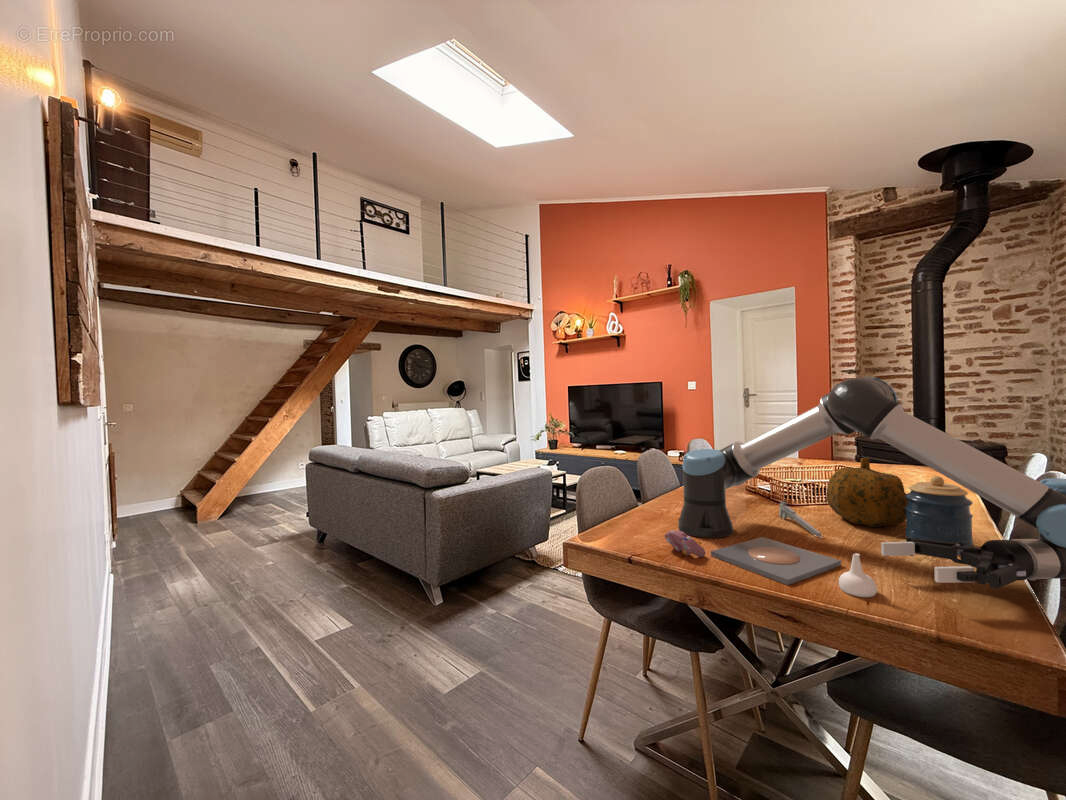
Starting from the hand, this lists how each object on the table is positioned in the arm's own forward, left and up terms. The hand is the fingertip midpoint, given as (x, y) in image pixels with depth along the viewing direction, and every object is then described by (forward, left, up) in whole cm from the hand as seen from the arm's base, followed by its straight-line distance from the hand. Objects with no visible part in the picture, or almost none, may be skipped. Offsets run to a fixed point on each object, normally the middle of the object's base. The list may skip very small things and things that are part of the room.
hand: (907, 560), depth 90 cm
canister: (-9, +38, -6) cm, 39 cm away
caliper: (-36, +23, -7) cm, 43 cm away
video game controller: (-39, -21, -6) cm, 45 cm away
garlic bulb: (-5, -8, -6) cm, 12 cm away
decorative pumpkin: (-28, +44, -6) cm, 52 cm away
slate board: (-24, -7, -6) cm, 26 cm away
